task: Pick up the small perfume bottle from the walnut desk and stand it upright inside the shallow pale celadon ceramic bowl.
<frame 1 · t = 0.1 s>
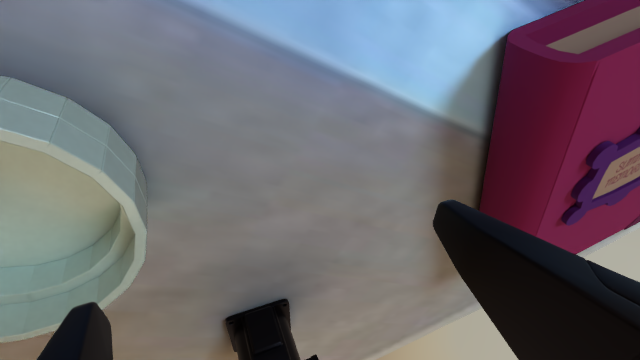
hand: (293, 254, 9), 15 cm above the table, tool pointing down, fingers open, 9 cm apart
book: (557, 130, 37), on the table
bowl: (5, 190, 19), on the table
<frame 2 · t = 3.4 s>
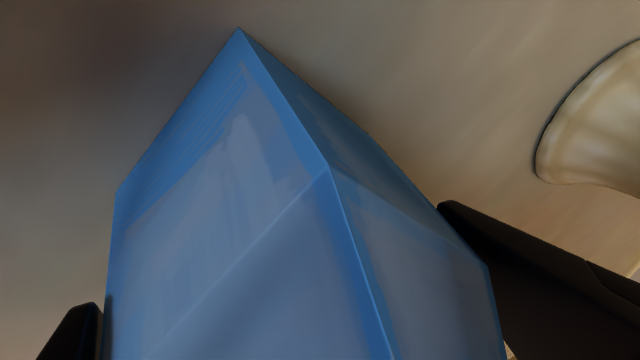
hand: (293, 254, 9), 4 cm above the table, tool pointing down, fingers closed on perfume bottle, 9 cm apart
hand bell: (597, 115, 18), on the table
perfume bottle: (255, 158, 12), on the table, touching gripper
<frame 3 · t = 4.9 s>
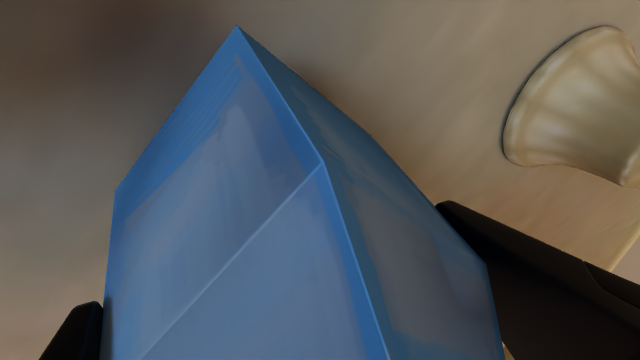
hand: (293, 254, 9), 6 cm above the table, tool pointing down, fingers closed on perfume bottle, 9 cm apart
hand bell: (559, 101, 20), on the table
perfume bottle: (254, 156, 12), point 2 cm above the table, touching gripper
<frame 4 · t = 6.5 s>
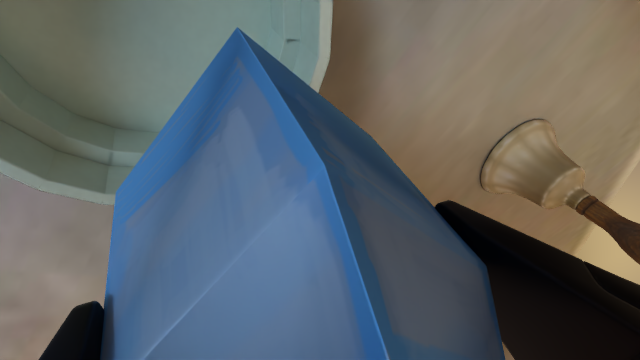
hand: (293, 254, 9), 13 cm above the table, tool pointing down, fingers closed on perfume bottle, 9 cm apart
hand bell: (514, 156, 34), on the table
bowl: (142, 11, 15), on the table
perfume bottle: (255, 158, 12), point 9 cm above the table, touching gripper
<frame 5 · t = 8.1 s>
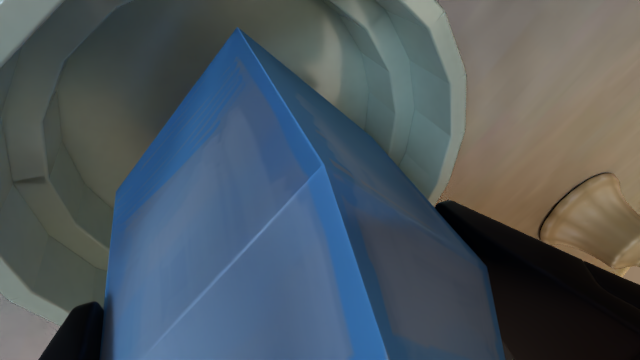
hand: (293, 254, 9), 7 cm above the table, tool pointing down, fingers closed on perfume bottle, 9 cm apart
hand bell: (574, 207, 32), on the table
bowl: (235, 127, 14), on the table
perfume bottle: (255, 158, 12), point 3 cm above the table, touching gripper
when the fingers open (5 cm above the table, at t = 9.6 s): perfume bottle stays where it is, resting on bowl.
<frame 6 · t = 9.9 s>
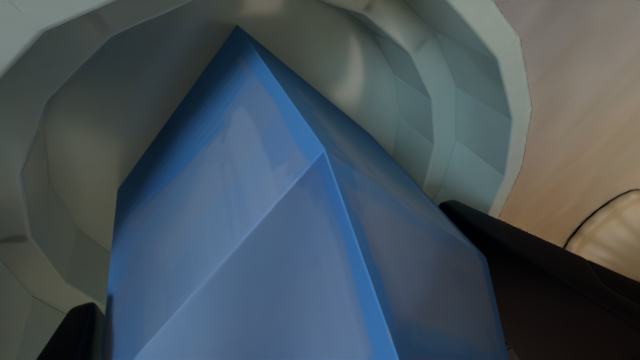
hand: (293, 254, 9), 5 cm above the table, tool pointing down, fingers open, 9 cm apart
hand bell: (599, 225, 30), on the table
bowl: (250, 158, 12), on the table
microphone: (499, 342, 41), on the table
perfume bottle: (255, 156, 12), resting on bowl, touching gripper
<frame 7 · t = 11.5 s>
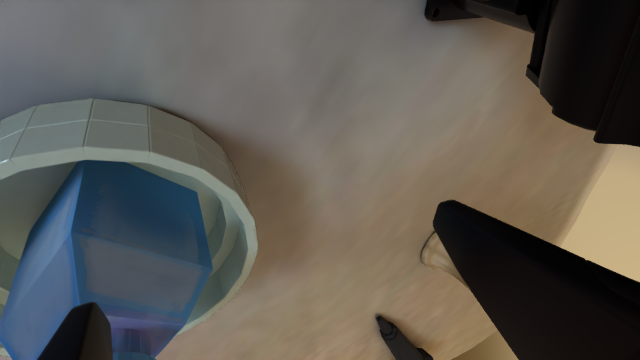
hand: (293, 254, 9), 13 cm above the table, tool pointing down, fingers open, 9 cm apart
hand bell: (450, 239, 39), on the table
bowl: (118, 208, 20), on the table
microphone: (399, 334, 50), on the table
perfume bottle: (119, 208, 20), resting on bowl
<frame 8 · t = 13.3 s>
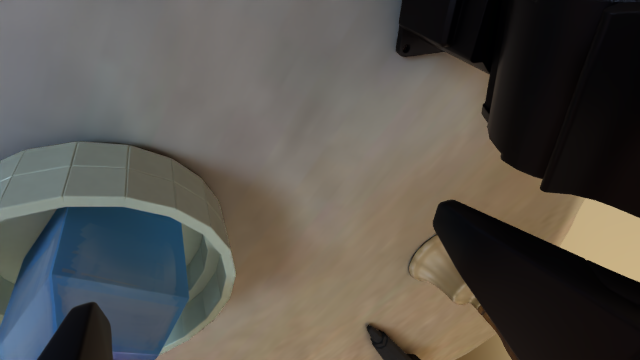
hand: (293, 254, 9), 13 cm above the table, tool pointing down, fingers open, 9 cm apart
hand bell: (438, 252, 40), on the table
bowl: (106, 235, 22), on the table
microphone: (391, 341, 51), on the table
perfume bottle: (107, 235, 21), resting on bowl
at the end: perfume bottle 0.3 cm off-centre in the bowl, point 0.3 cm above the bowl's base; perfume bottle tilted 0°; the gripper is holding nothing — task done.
